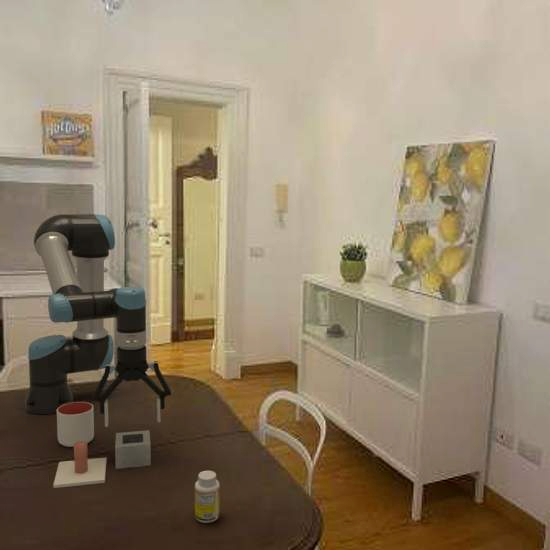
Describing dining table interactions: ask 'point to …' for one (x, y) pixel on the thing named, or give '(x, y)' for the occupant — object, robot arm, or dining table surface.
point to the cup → (75, 423)
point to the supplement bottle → (207, 497)
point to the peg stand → (80, 469)
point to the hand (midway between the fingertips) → (133, 422)
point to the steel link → (132, 449)
